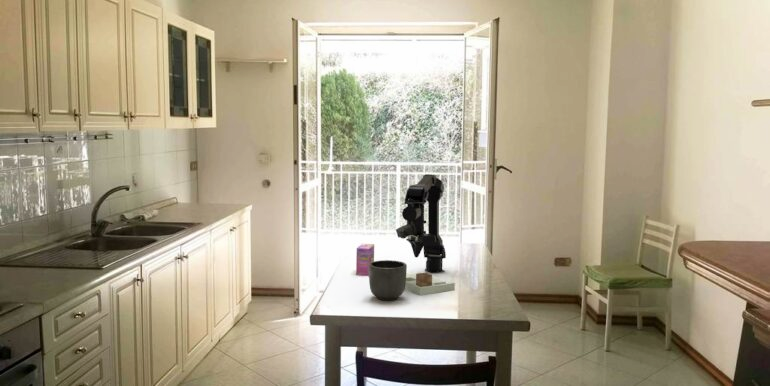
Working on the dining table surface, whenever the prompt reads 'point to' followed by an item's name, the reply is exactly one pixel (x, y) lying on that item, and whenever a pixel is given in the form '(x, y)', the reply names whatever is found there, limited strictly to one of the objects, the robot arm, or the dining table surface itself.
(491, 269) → the dining table surface
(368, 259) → the box
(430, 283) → the block
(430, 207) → the robot arm
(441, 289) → the trap tray
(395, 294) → the planter
